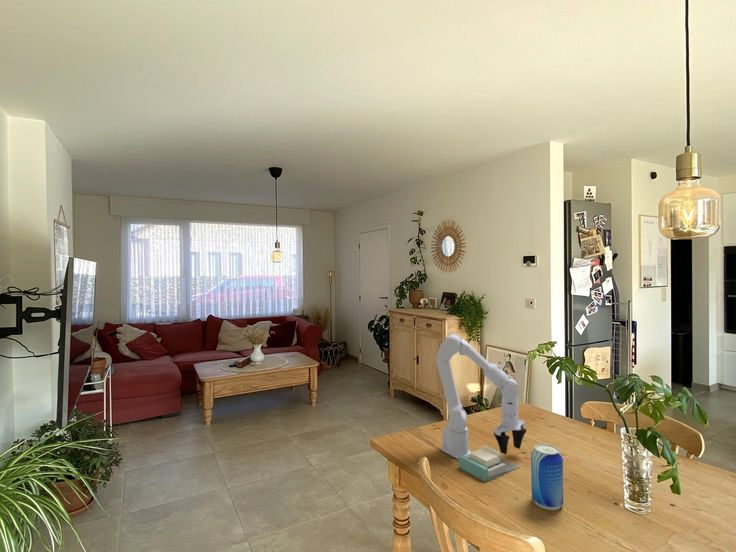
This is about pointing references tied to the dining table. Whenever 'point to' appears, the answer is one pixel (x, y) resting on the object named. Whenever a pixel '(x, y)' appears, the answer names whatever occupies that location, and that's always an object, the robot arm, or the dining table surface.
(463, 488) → the dining table surface
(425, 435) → the dining table surface
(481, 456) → the cream notched block
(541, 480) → the beer can
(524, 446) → the dining table surface
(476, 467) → the dock
